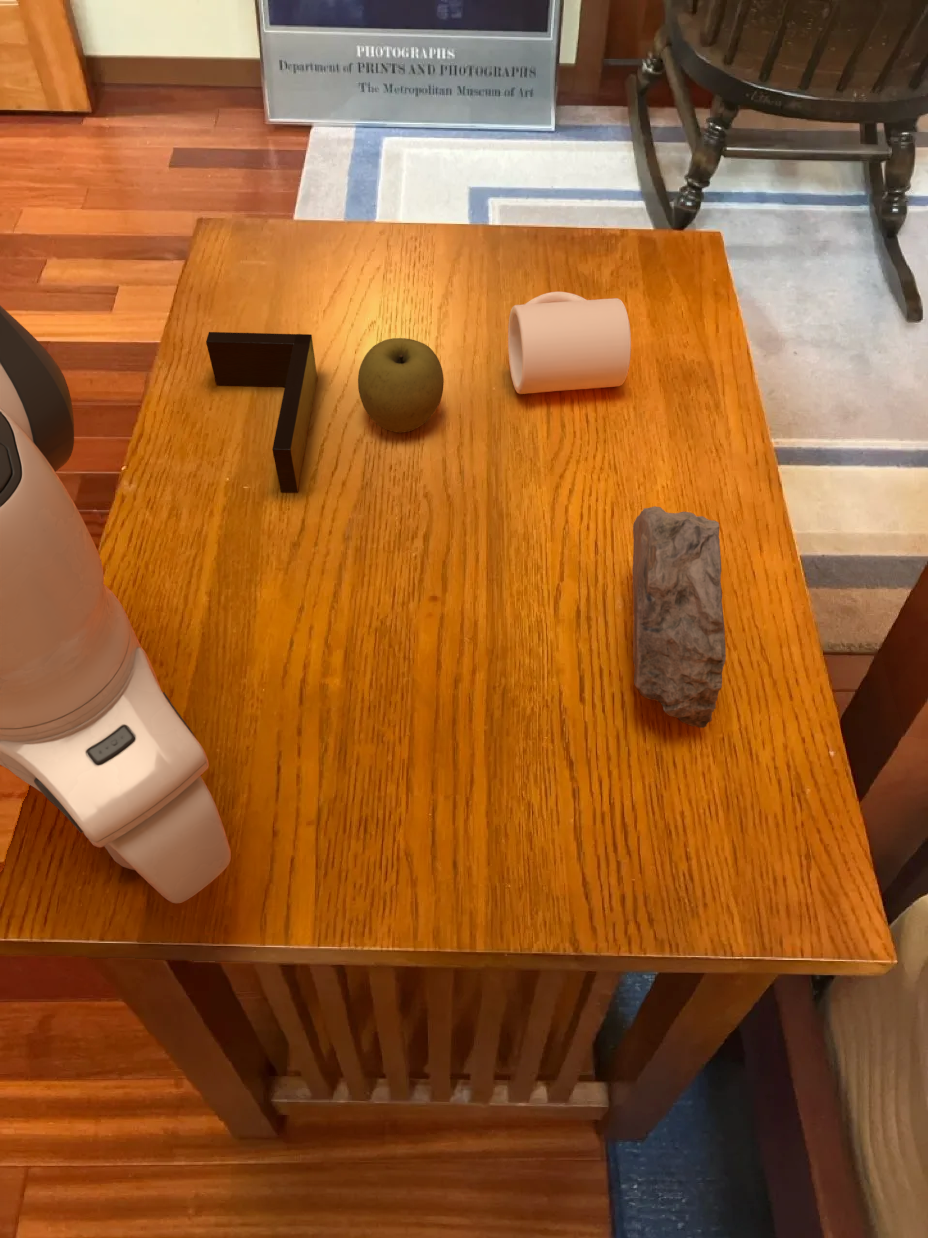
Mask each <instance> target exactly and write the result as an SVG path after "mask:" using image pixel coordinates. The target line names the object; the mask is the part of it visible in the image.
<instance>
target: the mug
mask: <svg viewBox="0 0 928 1238" xmlns="http://www.w3.org/2000/svg"><path fill="white" fill-rule="evenodd" d="M507 326H508V327H507V348H508V349H507V350H508V351H507V352H508V362H509V363H508V364H509V371H510V376H511V381H512V385H513V388H514V391H515V392H516V393H517V394H519V395H523V394H524V395H525V394H536V393H548V392H549V393H550V392H562V391H563V392H564V391H575V390H577V391H578V390H589V389H601V388H613V387H620V386H622V385H623V384H624V383H625V381H626V380H627V377H628V373H629V370H630V365H631V356H632V335H631V334H632V333H631V324H630V318H629V315H628V311H627V308H626V306H625V304H624V302H623V301H622V300H621V299H620V298H618V297H614V298H613V297H612V298H597V299H586V298H584V297H582V296H580V295H579V294H575V293H572V292H567V291H551V292H546V293H543V294H540V295H538V296H536V297H534V298H532V299H530V300H529V301H527V302H526V303H524V304H515V305H513V306H512V307H511V310H510V312H509V318H508V325H507Z"/></svg>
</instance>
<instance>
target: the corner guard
mask: <svg viewBox="0 0 928 1238" xmlns="http://www.w3.org/2000/svg"><path fill="white" fill-rule="evenodd" d="M207 333H208V334H207V336H206V340H205V343H206V347H207V351H208V357H209V360H210V364H211V368H212V373H213V377H214V381H215V385H216V386H229V387H231V386H233V387H234V386H237V387H267V388H269V387H272V388H284V389H283V395H282V400H281V405H280V409H279V415H278V419H277V424H276V429H275V434H274V439H273V444H272V449H271V450H272V455H273V458H274V459H273V460H274V466H275V470H276V475H277V480H278V485H279V491H280V493H298V492H299V488H300V481H301V476H302V471H303V470H302V469H303V464H304V458H305V451H306V446H307V442H308V441H307V440H308V436H309V429H310V424H311V423H310V422H311V417H312V411H313V406H314V400H315V394H316V387H317V382H318V373H317V365H316V358H315V357H316V356H315V351H314V343H313V335H312V334H310V333H309V334H307V333H306V334H305V333H271V332H270V333H269V332H268V333H266V332H231V331H230V332H227V331H208V332H207Z"/></svg>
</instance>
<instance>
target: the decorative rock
mask: <svg viewBox="0 0 928 1238" xmlns="http://www.w3.org/2000/svg"><path fill="white" fill-rule="evenodd" d="M720 527H721V526H720V522H718V521H716V519H715V520H714V519H713V520H712V519H709V518H706V517H705V516H702V515H700V516H699V515H696V514H695V513H694V512H690V511H680V512H667V511H665V510H664V509H663V508H662V507H661V506H656V505H655V506H651V507H646V508H645V507H644V508H643V509H642V510H641V511H640V513H639V515H637V517H636V518H635V520H634V521H633V526H632V538H633V545H632V548H633V552H632V596H633V597H632V599H633V626H632V627H633V629H632V631H633V632H632V639H633V640H632V645H633V646H632V651H633V653H632V657H633V659H632V660H633V661H632V662H633V665H634V675H633V685H634V687H635V688H636V689H637V691H638V692H639V693H640V695H641V696H642V697H643V698H645V699H648V700H653V701H656V702H658V703H660V705H661V707H662V710H663V711H664V713H665V714H667V715H668V716H669V717H673V718H676V719H678V721H679V722H681V723H683V724H686V725H688V726H690V727H696V728H699V729H704V728H707V726H708V724H709V723H710V722H712V720H713V716H712V715H713V712H714V711H715V710H716V708H717V707H716V706H717V700H718V697H719V692H720V690H721V689H722V688H723V687H722V686H723V671H724V666H725V664H726V657H727V653H726V652H727V649H726V632H725V631H726V630H725V619H724V610H723V592H722V591H723V589H722V581H721V580H722V579H721V578H722V577H721V576H722V555H721V545H720V542H721V541H720V529H721V528H720Z"/></svg>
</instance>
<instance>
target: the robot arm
mask: <svg viewBox="0 0 928 1238" xmlns="http://www.w3.org/2000/svg"><path fill="white" fill-rule="evenodd" d="M74 447H75V419H74V408H73V402H72V397H71V393H70V389H69V386H68V383H67V381H66V377H65V375H64V373H63V371H62V370H61V368H60V366H59V365H58V364H57V362H56V360H55V359H54V358H53V356H52V355H51V354H50V353H49V351H47V349H46V348H45V347H44V346H43V344H41V343H40V342H39V340H37V338H35V336H33V334H32V333H31V332H30V331H28V329H26V328H25V326H23V325H22V324H21V323H20V321H18V320H17V319H16V318H15V317H14V316H13V315H12V314H10V313H9V312H8V311H7V310H6V309H5V308H4V307H3V306H2V305H0V766H1V767H3V768H5V769H6V770H7V769H8V770H9V771H10V772H11V773H12V774H14V775H15V776H16V777H18V778H19V779H21V780H22V781H23V782H25V783H26V784H28V785H29V786H31V787H32V788H34V789H36V790H37V791H39V792H40V793H42V794H43V795H44V797H45V798H46V799H47V800H48V801H49V802H50V803H52V805H54V806H55V808H57V809H58V810H59V811H60V812H61V813H62V814H63V815H64V816H65V817H66V818H67V819H68V821H69V822H70V823H71V824H72V825H73V826H74V827H75V829H76V830H77V831H78V832H79V833H80V834H83V835H84V836H85V837H86V838H87V840H88V841H89V842H90V843H91V845H93V846H94V847H96V848H104V846H105V845H107V844H109V845H110V846H111V847H112V848H113V849H114V850H115V851H116V852H117V853H118V854H119V855H120V856H121V857H122V858H123V859H124V860H125V861H126V862H127V863H128V864H129V865H130V866H131V867H132V868H133V869H134V870H133V871H135V872H136V873H137V874H138V875H139V876H141V878H143V879H144V880H145V881H146V882H147V883H148V884H149V885H150V886H151V887H152V888H153V889H154V890H155V891H156V892H157V893H158V894H159V895H161V896H162V897H163V898H164V899H166V900H167V901H169V902H170V903H171V904H172V903H173V904H181V903H184V902H186V901H188V900H189V899H191V898H192V897H194V896H195V895H196V894H198V893H200V892H201V891H202V890H204V889H205V888H206V887H207V886H208V885H210V884H211V883H212V882H213V881H214V880H216V879H217V878H218V877H219V876H220V875H221V874H222V873H223V872H224V871H225V870H226V869H227V867H228V866H229V865H230V862H231V858H232V852H231V847H230V843H229V841H228V837H227V834H226V833H227V832H226V831H225V828H224V827H225V826H224V824H223V822H222V818H221V816H220V813H219V810H218V808H217V805H216V802H215V800H214V798H213V796H212V794H211V792H210V790H209V788H208V786H207V785H206V782H205V780H204V779H203V777H202V776H201V775H203V774H204V773H205V772H206V771H208V770H209V767H210V763H209V758H208V756H207V753H206V751H205V749H204V748H203V746H202V745H201V743H200V742H199V741H198V739H197V738H196V735H195V734H194V732H193V730H192V729H191V728H190V726H189V725H188V724H187V723H186V721H185V720H184V719H183V717H182V716H181V715H180V713H179V712H178V710H177V709H176V708H175V706H174V704H173V703H172V702H171V699H169V697H168V696H167V694H166V693H165V691H162V688H161V686H160V683H159V680H158V677H157V675H156V671H155V670H154V667H153V664H152V662H151V661H150V659H149V656H148V654H147V652H146V651H145V650H144V649H143V648H142V646H141V644H140V641H139V639H138V636H137V635H136V633H135V630H134V628H133V626H132V624H131V622H130V619H129V618H128V617H129V616H128V615H127V613H126V610H125V608H124V606H123V604H122V603H121V602H120V600H119V598H118V597H117V596H116V594H114V592H113V591H112V590H111V589H110V588H109V587H108V586H107V585H106V584H105V581H104V579H105V577H104V568H103V563H102V559H101V556H100V554H99V550H98V549H97V546H96V544H95V542H94V539H93V537H92V536H91V533H90V531H89V529H88V527H87V525H86V523H85V520H84V519H83V517H82V514H81V513H80V511H79V509H78V507H77V506H76V504H75V502H74V500H73V499H72V497H71V495H70V493H69V492H68V490H67V488H66V486H65V484H64V483H63V482H62V480H61V478H60V477H59V476H58V474H57V471H58V470H59V469H61V468H62V467H64V465H66V464H67V462H68V461H69V460H70V458H71V456H72V454H73V451H74Z"/></svg>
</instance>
